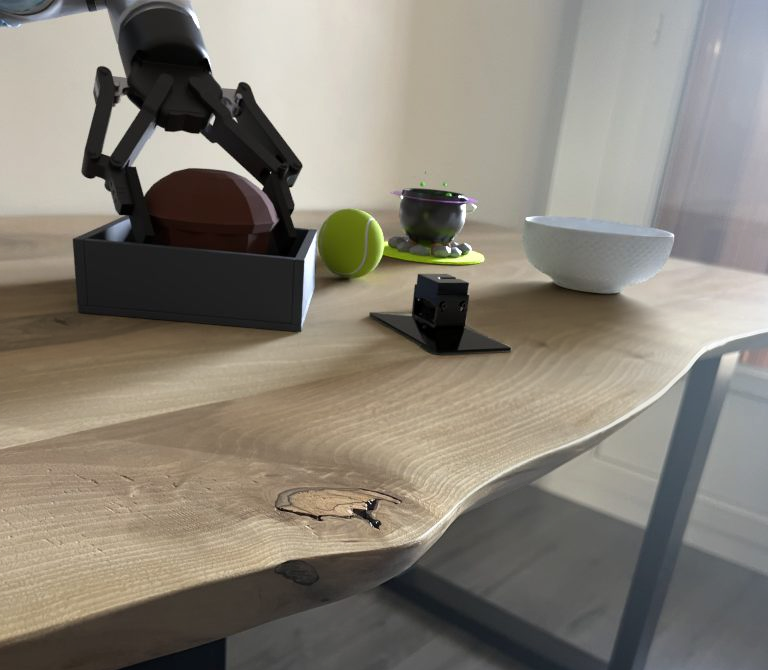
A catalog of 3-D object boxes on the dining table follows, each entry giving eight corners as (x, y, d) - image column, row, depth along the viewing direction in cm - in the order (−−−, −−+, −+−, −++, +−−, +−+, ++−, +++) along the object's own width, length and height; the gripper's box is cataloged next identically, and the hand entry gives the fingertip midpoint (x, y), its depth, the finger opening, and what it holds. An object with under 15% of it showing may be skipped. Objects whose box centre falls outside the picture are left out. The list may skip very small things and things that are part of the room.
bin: (77, 312, 64) (72, 238, 62) (135, 272, 80) (132, 211, 78) (301, 332, 65) (304, 260, 63) (314, 288, 81) (317, 229, 78)
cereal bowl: (647, 282, 103) (660, 224, 100) (672, 310, 88) (689, 242, 85) (513, 267, 104) (522, 208, 101) (516, 291, 89) (527, 223, 86)
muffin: (274, 283, 78) (278, 171, 74) (280, 310, 69) (285, 183, 64) (146, 275, 76) (142, 159, 72) (133, 302, 66) (128, 170, 62)
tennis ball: (306, 278, 85) (309, 207, 82) (329, 268, 91) (333, 202, 88) (369, 287, 84) (375, 216, 81) (388, 277, 90) (394, 210, 87)
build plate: (511, 353, 66) (521, 295, 64) (433, 357, 63) (441, 296, 61) (436, 314, 76) (442, 262, 74) (365, 315, 72) (369, 262, 70)
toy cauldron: (499, 256, 111) (511, 169, 107) (460, 269, 99) (473, 171, 94) (399, 239, 117) (407, 156, 112) (351, 250, 104) (358, 157, 99)
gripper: (269, 85, 82) (331, 270, 77) (13, 57, 70) (66, 274, 66) (294, 22, 76) (362, 220, 71) (17, -20, 64) (76, 214, 59)
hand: (221, 246), depth 68 cm, fingers closed on muffin, 12 cm apart
